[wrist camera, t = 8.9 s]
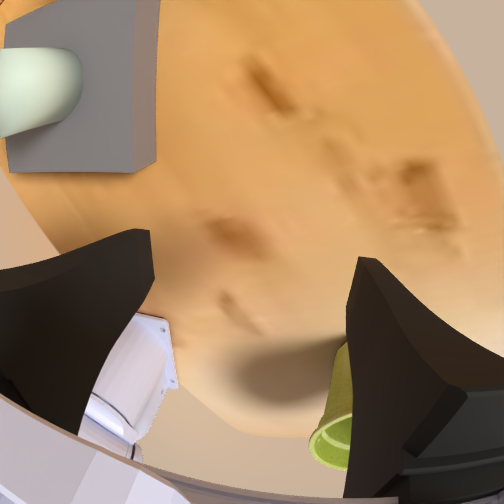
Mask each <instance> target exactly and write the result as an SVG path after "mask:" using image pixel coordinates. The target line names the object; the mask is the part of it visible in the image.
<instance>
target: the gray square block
mask: <svg viewBox="0 0 504 504" xmlns="http://www.w3.org/2000/svg"><path fill="white" fill-rule="evenodd" d="M159 10H160V0H58V1H56V2H53V3H51V4H48V5H46V6H44V7H41V8H39V9H37V10H35V11H32V12H30V13H28V14H26V15H24V16H22V17H20V18H18V19H16V20H14V21H12V22H10V23H8V24H6V28H5V39H4V49H8V48H67V49H69V50H71V51H73V52H74V53H75V54H76V55H77V57H78V58H79V60H80V62H81V65H82V68H83V75H84V82H83V90H82V94H81V97H80V100H79V102H78V104H77V106H76V108H75V109H74V110H73V112H72V113H71V114H70V115H69V116H68V117H67V118H65V119H63V120H61V121H58V122H55V123H51V124H47V125H43V126H40V127H36V128H33V129H29V130H26V131H23V132H19V133H16V134H13V135H10V136H7V137H5V140H6V150H7V158H8V166H9V173H24V172H118V173H135V172H137V171H139V170H141V169H143V168H144V167H146V166H148V165H150V164H152V163H154V162H156V115H155V111H156V60H157V39H158V23H159Z"/></svg>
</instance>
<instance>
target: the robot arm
mask: <svg viewBox="0 0 504 504" xmlns="http://www.w3.org/2000/svg"><path fill="white" fill-rule="evenodd" d="M154 280H155V276H154V268H153V259H152V250H151V240H150V230H144V229H130V230H126V231H123V232H120V233H117V234H114V235H112V236H109V237H107V238H104V239H101V240H99V241H96V242H94V243H91V244H89V245H86V246H84V247H81V248H78V249H76V250H73V251H70V252H68V253H65V254H62V255H59V256H56V257H53V258H50V259H47V260H43V261H40V262H36V263H33V264H28V265H23V266H19V267H14V268H9V269H3V270H0V504H504V358H503V357H501V356H499V355H497V354H495V353H493V352H491V351H490V350H488V349H486V348H484V347H482V346H480V345H479V344H477V343H475V342H474V341H472V340H470V339H469V338H467V337H466V336H464V335H463V334H461V333H460V332H458V331H457V330H455V329H454V328H452V327H451V326H450V325H448V324H447V323H446V322H444V321H443V320H442V319H440V318H439V317H438V316H437V315H435V314H434V313H433V312H432V311H430V310H429V309H428V308H427V307H426V306H425V305H424V304H423V303H421V302H420V301H419V300H418V299H417V298H416V297H415V296H414V295H413V294H412V293H411V292H410V291H409V290H408V289H407V288H406V287H405V286H404V285H403V284H402V283H401V282H400V281H399V280H398V279H397V278H396V277H395V276H394V275H393V274H392V273H391V272H390V271H389V270H388V269H387V268H386V267H385V266H384V265H383V264H382V263H381V262H380V261H378V260H377V259H375V258H367V257H360V256H359V257H358V261H357V265H356V269H355V274H354V278H353V282H352V286H351V290H350V293H349V297H348V301H347V305H346V336H347V344H348V352H349V361H350V369H351V378H352V391H353V406H352V427H351V441H350V452H349V460H348V468H347V476H346V482H345V489H344V494H343V498H319V497H304V496H291V495H282V494H274V493H266V492H259V491H252V490H246V489H241V488H235V487H229V486H224V485H220V484H215V483H211V482H206V481H202V480H198V479H194V478H189V477H186V476H182V475H178V474H175V473H171V472H168V471H165V470H161V469H158V468H155V467H152V466H148V465H146V464H143V455H142V449H141V447H140V446H139V445H138V444H136V443H135V441H137V440H139V439H141V438H142V437H143V436H144V435H145V434H146V433H147V432H148V431H149V429H150V427H151V425H152V422H153V420H154V418H155V416H156V414H157V411H158V409H159V407H160V405H161V403H162V401H163V398H164V396H165V394H166V392H167V390H168V388H169V389H173V390H176V389H178V386H179V385H178V379H177V374H176V368H175V362H174V356H173V349H172V343H171V336H170V329H169V323H168V322H167V320H165V319H163V318H158V317H153V316H149V315H144V314H140V313H136V312H137V311H138V309H139V308H140V306H141V305H142V303H143V302H144V300H145V298H146V296H147V294H148V292H149V290H150V288H151V286H152V284H153V282H154ZM163 328H164V329H163Z"/></svg>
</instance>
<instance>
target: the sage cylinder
mask: <svg viewBox="0 0 504 504" xmlns="http://www.w3.org/2000/svg"><path fill="white" fill-rule="evenodd" d="M83 82H84V75H83V68H82V65H81V62H80V60H79V58H78V57H77V55H76V54H75V53H74V52H73V51H71V50H69V49H67V48H8V49H0V139H1V138H4V137H7V136H10V135H13V134H16V133H19V132H23V131H26V130H29V129H33V128H36V127H40V126H43V125H47V124H51V123H55V122H58V121H61V120H63V119H65V118H67V117H68V116H69V115H70V114H71V113H72V112H73V110H74V109H75V108H76V106H77V104H78V102H79V100H80V97H81V94H82V90H83Z"/></svg>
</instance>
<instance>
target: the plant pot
mask: <svg viewBox="0 0 504 504" xmlns="http://www.w3.org/2000/svg"><path fill="white" fill-rule="evenodd" d="M352 406H353V391H352V378H351V369H350V361H349V352H348V344H347V342H346V343H345V344H344V345H343V346H342V347H341V348H339V349H338V351H337V352H336V355H335V361H334V366H333V372H332V379H331V384H330V389H329V394H328V399H327V403H326V408H325V412H324V415H323V417H322V418H321V420H320V422H319V425H318V428H317V429H316V430H315V431H314V432H313V434H312V435H311V437H310V440H309V451H310V453H311V455H312V457H313V458H314V459H316V460H317V461H318V462H320V463H322V464H323V465H326V466H328V467H331V468H335V469H339V470H345V471H347V468H348V460H349V452H350V441H351V427H352Z"/></svg>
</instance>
